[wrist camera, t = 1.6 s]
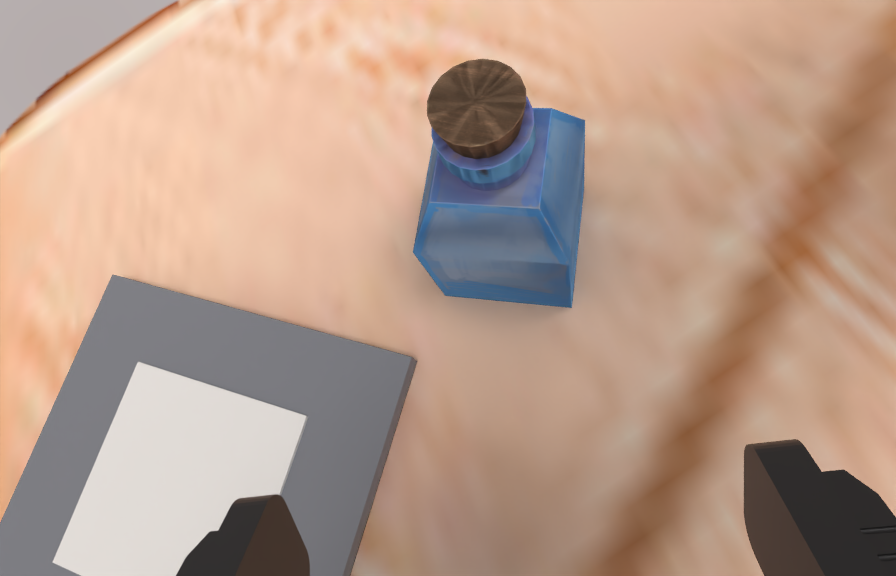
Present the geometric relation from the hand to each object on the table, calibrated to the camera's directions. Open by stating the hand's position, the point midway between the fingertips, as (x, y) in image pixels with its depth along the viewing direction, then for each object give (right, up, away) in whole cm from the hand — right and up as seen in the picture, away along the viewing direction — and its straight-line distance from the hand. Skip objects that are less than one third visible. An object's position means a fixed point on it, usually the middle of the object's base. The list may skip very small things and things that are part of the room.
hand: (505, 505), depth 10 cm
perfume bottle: (+2, +6, +20) cm, 21 cm away
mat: (-14, -6, +19) cm, 24 cm away
